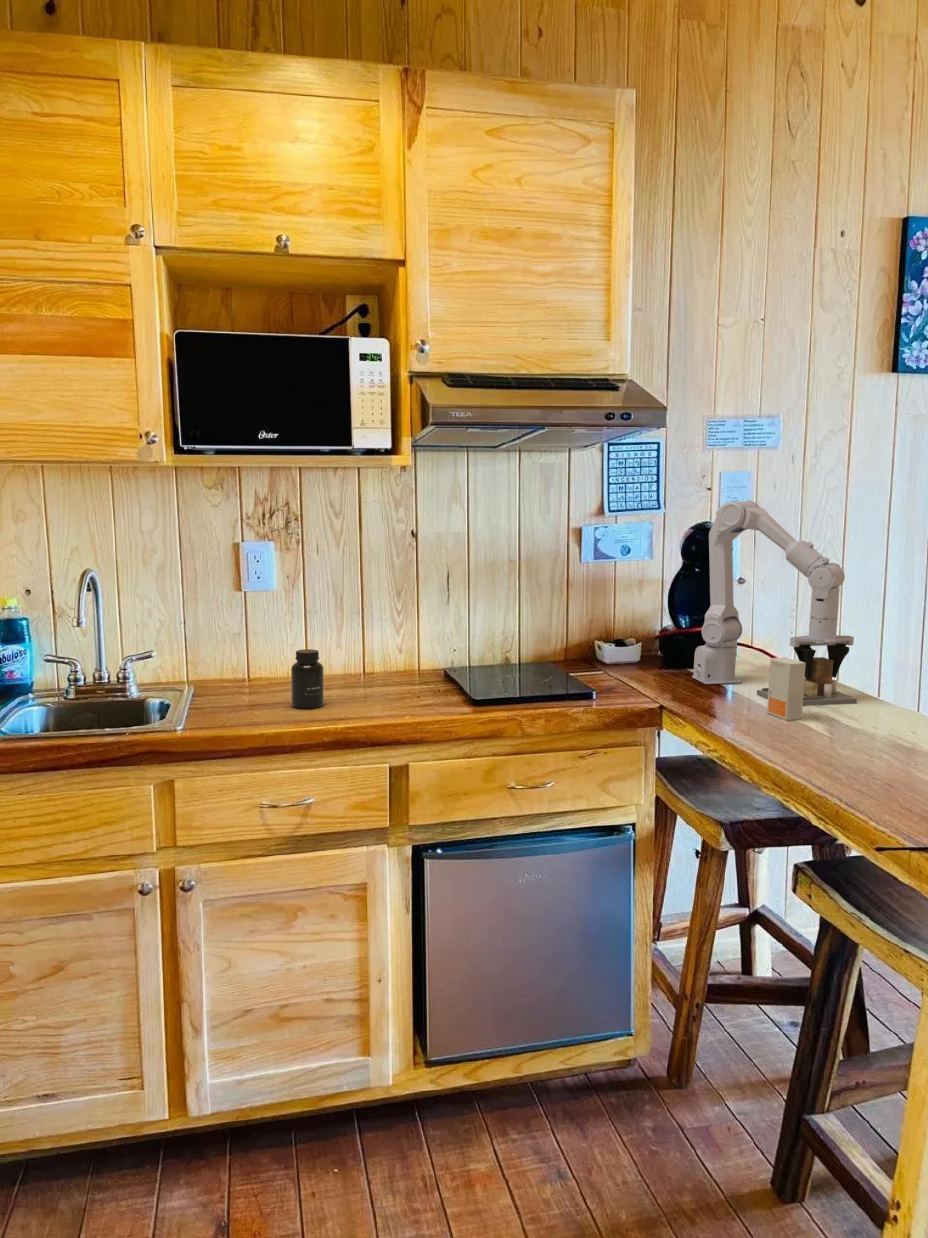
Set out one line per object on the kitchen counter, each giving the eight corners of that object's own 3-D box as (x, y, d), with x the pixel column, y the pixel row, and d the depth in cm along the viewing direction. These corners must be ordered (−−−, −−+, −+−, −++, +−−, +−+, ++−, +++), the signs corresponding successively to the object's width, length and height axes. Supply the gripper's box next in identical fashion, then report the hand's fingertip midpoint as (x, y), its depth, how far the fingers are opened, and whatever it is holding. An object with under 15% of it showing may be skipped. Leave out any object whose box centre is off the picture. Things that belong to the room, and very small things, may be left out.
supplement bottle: (313, 711, 182) (312, 655, 180) (285, 707, 185) (284, 652, 183) (329, 703, 189) (328, 649, 187) (302, 700, 191) (301, 647, 189)
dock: (782, 706, 189) (783, 688, 188) (756, 694, 200) (757, 677, 199) (856, 703, 192) (857, 685, 192) (827, 691, 203) (828, 674, 202)
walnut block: (814, 696, 194) (817, 661, 193) (804, 692, 198) (806, 657, 197) (830, 695, 195) (833, 660, 194) (820, 691, 199) (822, 657, 198)
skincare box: (765, 713, 183) (769, 658, 181) (781, 711, 185) (785, 656, 183) (786, 721, 177) (790, 663, 176) (802, 719, 179) (806, 662, 177)
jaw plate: (811, 697, 192) (812, 684, 191) (792, 689, 199) (792, 676, 199) (816, 697, 192) (817, 684, 191) (796, 689, 200) (797, 676, 199)
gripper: (804, 621, 188) (799, 682, 191) (864, 619, 191) (859, 679, 193) (786, 616, 195) (782, 675, 197) (844, 615, 198) (840, 673, 200)
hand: (819, 677), depth 196 cm, fingers open, 6 cm apart
